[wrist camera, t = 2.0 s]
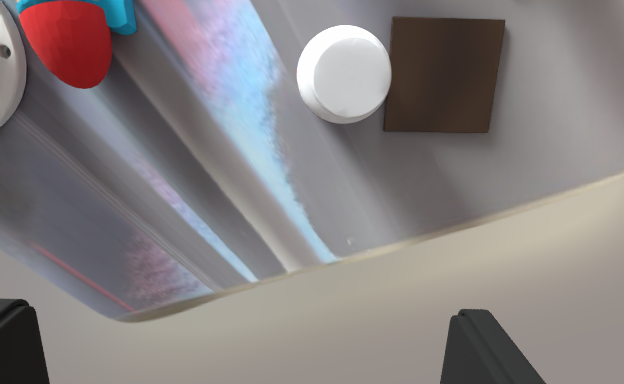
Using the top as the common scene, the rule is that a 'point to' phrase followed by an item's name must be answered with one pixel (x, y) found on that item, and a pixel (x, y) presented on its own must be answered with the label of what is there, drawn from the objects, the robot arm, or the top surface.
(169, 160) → the top surface
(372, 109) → the pill bottle
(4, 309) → the robot arm
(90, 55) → the toy figure
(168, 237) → the top surface
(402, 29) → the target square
